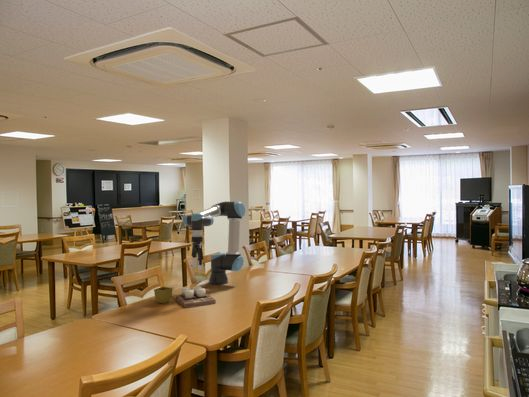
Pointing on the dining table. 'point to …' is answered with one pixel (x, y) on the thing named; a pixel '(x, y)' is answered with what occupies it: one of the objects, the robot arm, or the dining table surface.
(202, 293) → the white egg
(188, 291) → the cream rounded oval
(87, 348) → the dining table surface
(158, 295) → the flower pot
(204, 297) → the egg tray
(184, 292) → the white egg
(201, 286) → the white egg
